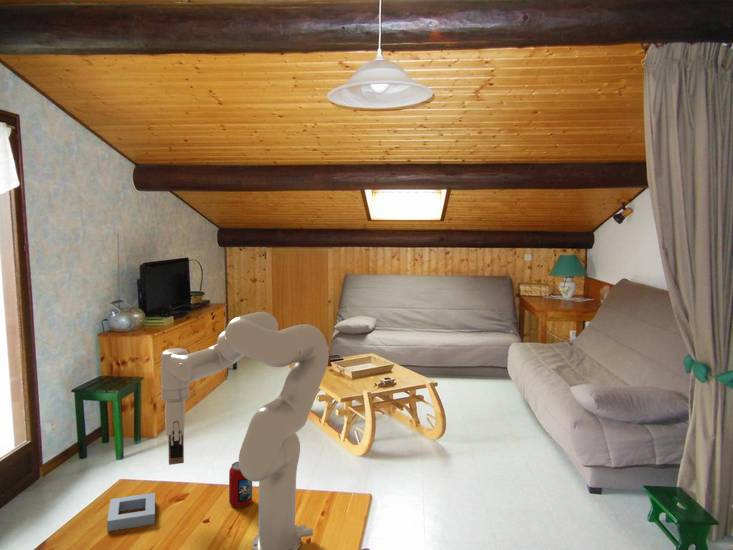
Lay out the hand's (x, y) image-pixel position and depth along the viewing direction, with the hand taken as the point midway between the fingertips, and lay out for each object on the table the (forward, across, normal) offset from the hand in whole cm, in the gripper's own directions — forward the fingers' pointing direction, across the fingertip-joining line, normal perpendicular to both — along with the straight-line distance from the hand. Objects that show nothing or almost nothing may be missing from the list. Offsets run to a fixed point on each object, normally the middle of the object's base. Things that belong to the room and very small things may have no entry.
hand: (176, 453), depth 157 cm
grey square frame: (+17, 0, -12) cm, 21 cm away
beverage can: (+17, +2, +18) cm, 25 cm away
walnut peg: (+2, 0, 0) cm, 2 cm away
